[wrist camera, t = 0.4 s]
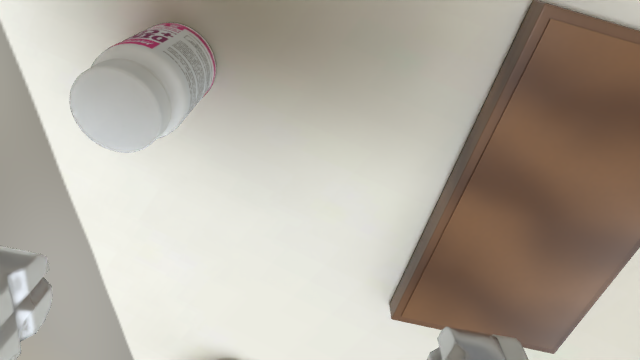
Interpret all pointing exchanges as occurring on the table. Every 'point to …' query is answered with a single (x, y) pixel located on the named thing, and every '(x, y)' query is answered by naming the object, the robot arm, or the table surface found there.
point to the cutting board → (537, 189)
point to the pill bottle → (143, 87)
